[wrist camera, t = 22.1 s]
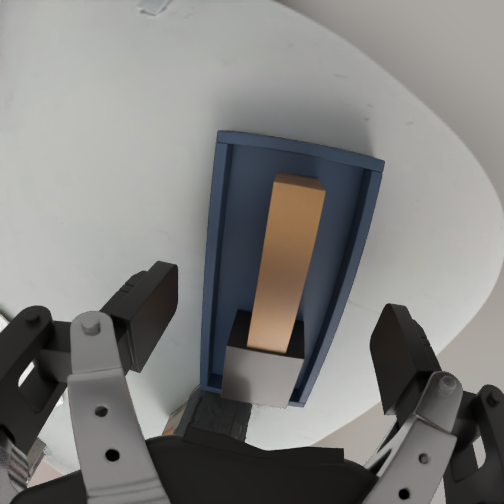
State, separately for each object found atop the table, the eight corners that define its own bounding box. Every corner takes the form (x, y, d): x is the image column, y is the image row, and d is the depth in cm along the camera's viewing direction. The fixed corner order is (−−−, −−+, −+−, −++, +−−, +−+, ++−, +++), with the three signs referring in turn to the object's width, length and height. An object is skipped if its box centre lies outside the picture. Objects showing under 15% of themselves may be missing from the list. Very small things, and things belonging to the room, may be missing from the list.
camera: (212, 369, 22) (176, 476, 13) (266, 401, 23) (251, 503, 14) (157, 413, 26) (125, 487, 17) (201, 437, 27) (178, 510, 18)
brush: (256, 167, 15) (246, 178, 12) (338, 182, 15) (352, 197, 11) (230, 361, 21) (220, 397, 17) (288, 371, 20) (286, 408, 17)
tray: (226, 130, 15) (217, 130, 13) (374, 157, 14) (385, 161, 12) (205, 371, 22) (199, 389, 20) (303, 389, 22) (303, 407, 20)
